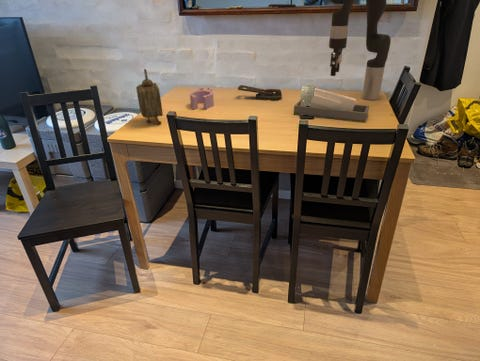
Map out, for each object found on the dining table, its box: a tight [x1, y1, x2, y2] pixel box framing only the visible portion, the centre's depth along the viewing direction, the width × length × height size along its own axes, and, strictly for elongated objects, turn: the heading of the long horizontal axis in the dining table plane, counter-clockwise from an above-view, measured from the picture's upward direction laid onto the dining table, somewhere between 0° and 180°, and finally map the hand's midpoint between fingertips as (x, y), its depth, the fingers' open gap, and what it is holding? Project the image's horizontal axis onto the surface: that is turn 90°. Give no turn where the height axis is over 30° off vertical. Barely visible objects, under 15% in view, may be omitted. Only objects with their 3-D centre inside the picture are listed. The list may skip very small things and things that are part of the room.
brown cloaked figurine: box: [135, 68, 164, 125], centre depth 164 cm, size 14×9×25 cm, turn 21°
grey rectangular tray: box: [293, 98, 370, 124], centre depth 171 cm, size 12×34×4 cm, turn 66°
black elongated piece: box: [237, 84, 283, 102], centre depth 199 cm, size 9×7×25 cm
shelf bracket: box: [300, 85, 357, 111], centre depth 171 cm, size 6×25×13 cm, turn 70°
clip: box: [189, 86, 215, 111], centre depth 192 cm, size 20×12×7 cm, turn 175°
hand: (334, 73), depth 163 cm, fingers open, 8 cm apart
